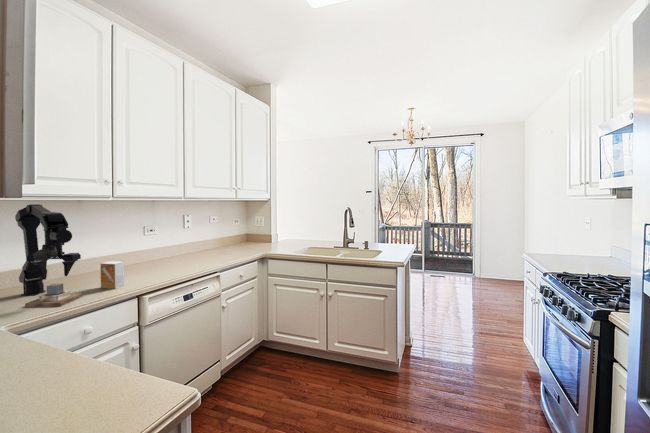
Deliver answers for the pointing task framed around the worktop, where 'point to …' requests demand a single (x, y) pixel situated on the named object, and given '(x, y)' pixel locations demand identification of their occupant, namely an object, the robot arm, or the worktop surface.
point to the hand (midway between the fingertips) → (54, 276)
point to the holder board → (54, 300)
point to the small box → (112, 274)
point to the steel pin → (54, 289)
